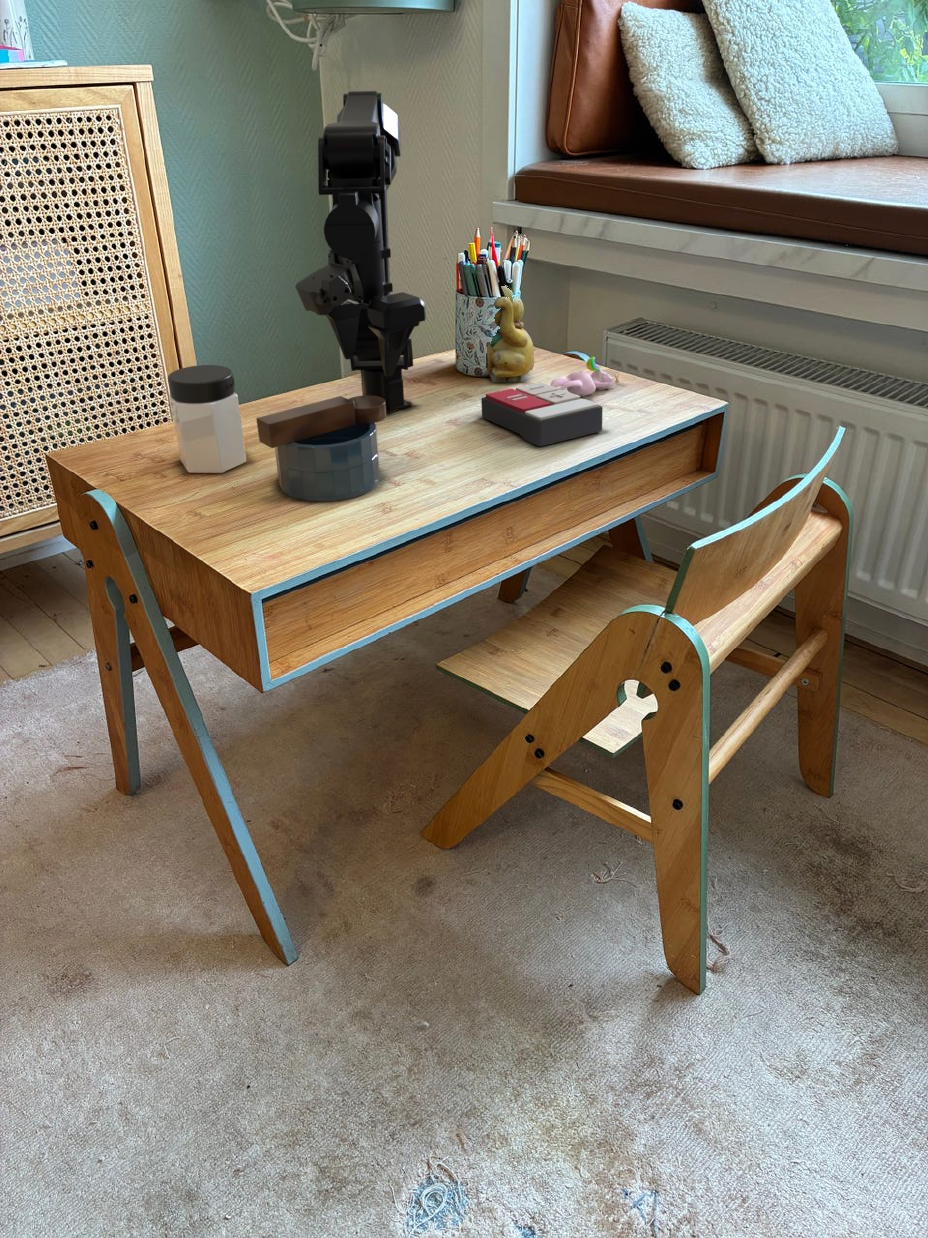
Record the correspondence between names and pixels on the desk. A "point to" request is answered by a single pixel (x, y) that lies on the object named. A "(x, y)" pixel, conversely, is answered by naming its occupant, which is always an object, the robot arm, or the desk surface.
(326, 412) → the spoon
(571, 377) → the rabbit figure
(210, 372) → the jar
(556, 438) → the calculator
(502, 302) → the decorative figurine
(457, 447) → the desk surface
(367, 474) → the pot
